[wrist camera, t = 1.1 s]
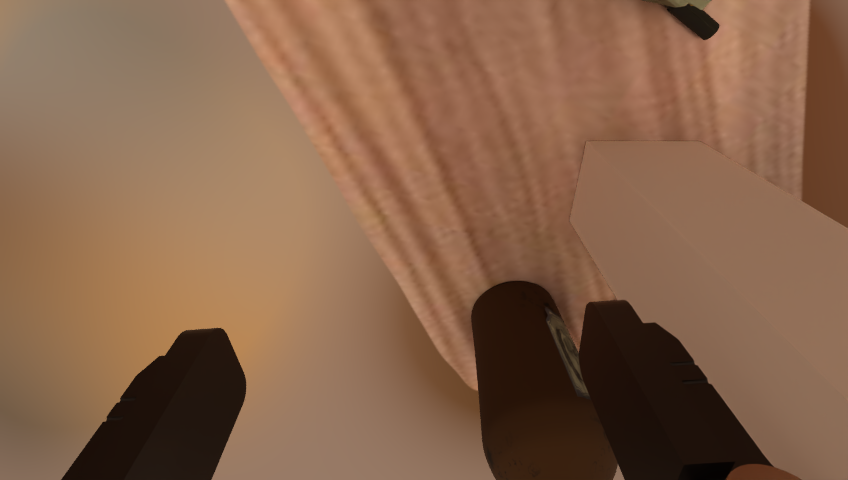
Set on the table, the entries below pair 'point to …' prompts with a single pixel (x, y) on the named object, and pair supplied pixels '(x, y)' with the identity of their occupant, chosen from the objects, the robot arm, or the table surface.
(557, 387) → the olive oil
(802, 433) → the stand
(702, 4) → the handheld radio
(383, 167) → the table surface
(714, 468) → the robot arm
